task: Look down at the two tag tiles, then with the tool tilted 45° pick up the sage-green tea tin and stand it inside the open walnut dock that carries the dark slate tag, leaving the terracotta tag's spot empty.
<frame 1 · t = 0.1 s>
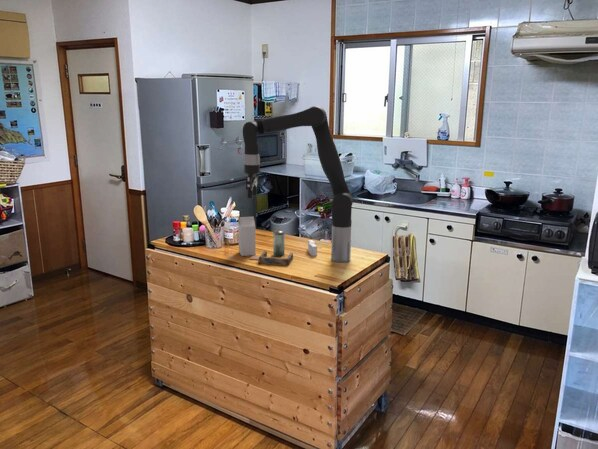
hand: (252, 196, 243), 29 cm above the countertop, tool pointing down, fingers open, 8 cm apart
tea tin: (278, 254, 248), on the countertop
terracotta tag: (256, 258, 242), on the countertop
dock: (276, 261, 238), on the countertop
milk carton: (247, 254, 249), on the countertop
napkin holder: (313, 253, 254), on the countertop
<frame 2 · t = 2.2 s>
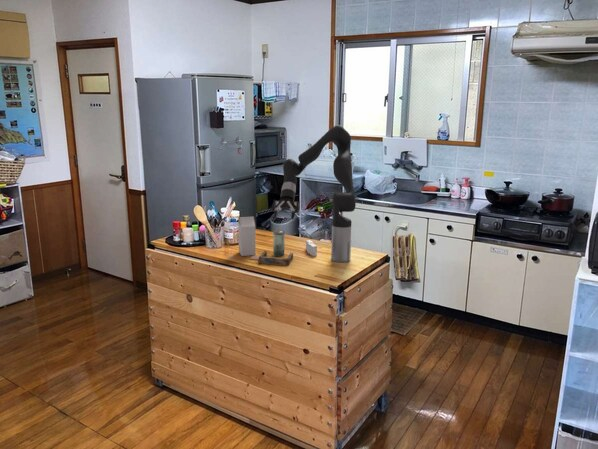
hand: (283, 218, 255), 16 cm above the countertop, tool tilted 45°, fingers open, 8 cm apart
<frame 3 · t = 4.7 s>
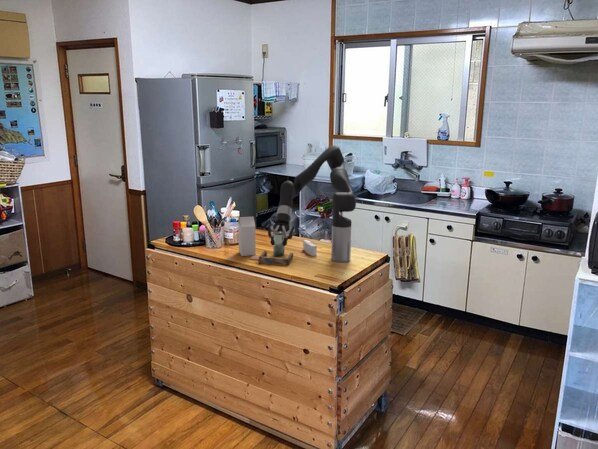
hand: (278, 244, 245), 6 cm above the countertop, tool tilted 45°, fingers closed on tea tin, 5 cm apart
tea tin: (278, 254, 248), on the countertop, touching gripper
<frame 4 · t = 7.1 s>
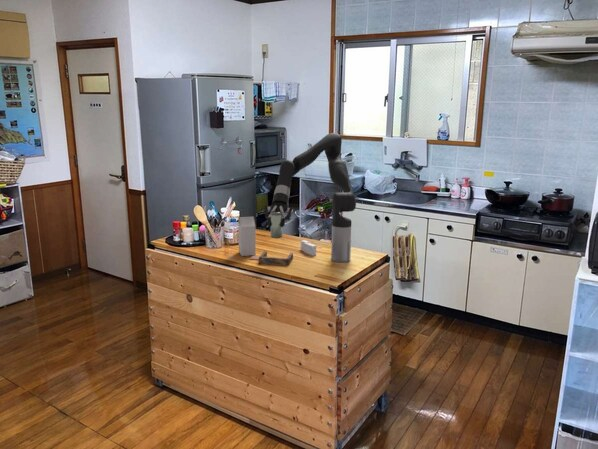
hand: (275, 225, 232), 18 cm above the countertop, tool tilted 45°, fingers closed on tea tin, 5 cm apart
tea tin: (276, 236, 235), point 12 cm above the countertop, touching gripper
when the fingers open (7 cm above the countertop, at t = 9.5 s): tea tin drops 1 cm, on the countertop.
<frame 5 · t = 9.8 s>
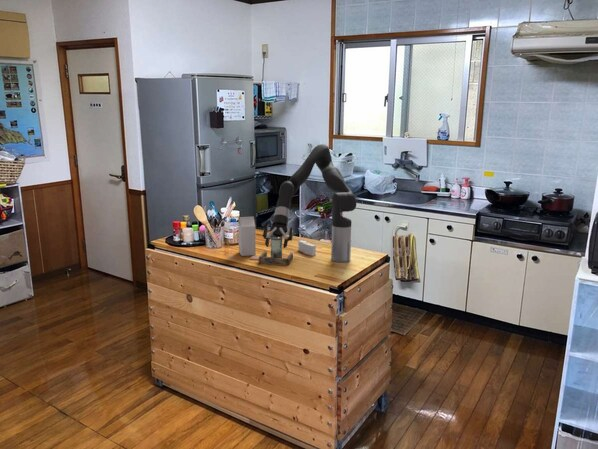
hand: (275, 246, 235), 8 cm above the countertop, tool tilted 45°, fingers open, 8 cm apart
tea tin: (276, 261, 238), on the countertop
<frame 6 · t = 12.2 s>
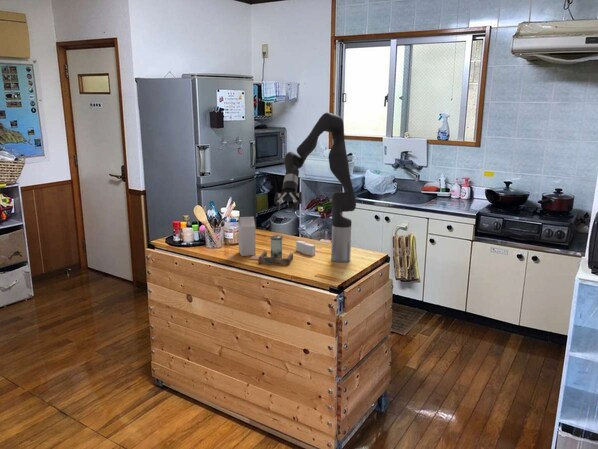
hand: (286, 209, 249), 22 cm above the countertop, tool tilted 45°, fingers open, 8 cm apart
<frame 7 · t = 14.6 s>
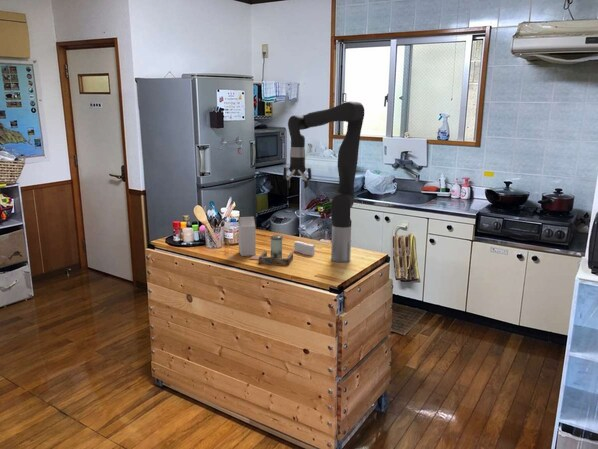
hand: (297, 187, 252), 32 cm above the countertop, tool pointing down, fingers open, 8 cm apart
at the end: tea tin inside the target area (0.2 cm from its centre), on the countertop; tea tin tilted 0°; the gripper is holding nothing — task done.
